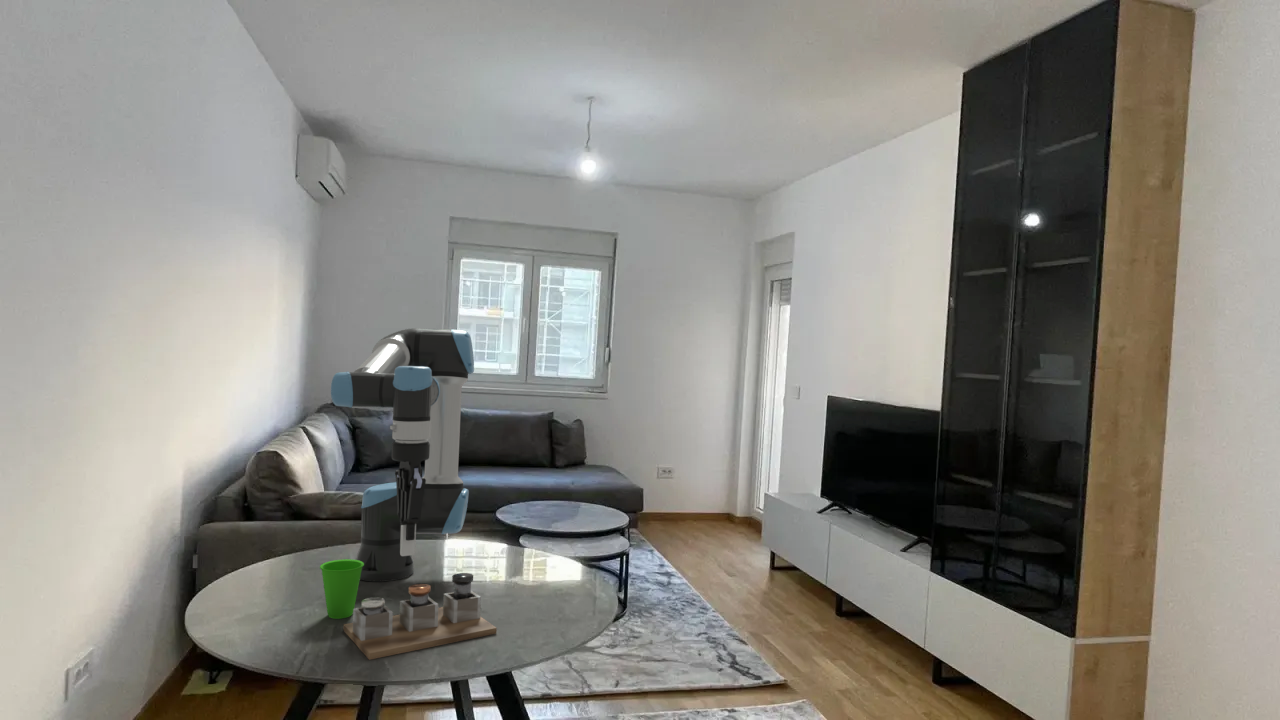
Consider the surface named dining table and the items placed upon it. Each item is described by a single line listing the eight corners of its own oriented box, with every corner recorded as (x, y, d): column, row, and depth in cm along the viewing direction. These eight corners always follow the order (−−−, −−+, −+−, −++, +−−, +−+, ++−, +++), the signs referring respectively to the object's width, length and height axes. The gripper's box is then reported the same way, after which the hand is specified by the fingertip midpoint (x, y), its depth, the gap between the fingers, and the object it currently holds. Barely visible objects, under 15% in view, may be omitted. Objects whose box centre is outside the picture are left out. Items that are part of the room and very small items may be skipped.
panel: (343, 630, 156) (344, 602, 156) (462, 608, 171) (462, 583, 171) (369, 659, 141) (370, 628, 141) (496, 633, 157) (497, 605, 157)
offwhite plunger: (358, 624, 152) (358, 599, 152) (380, 620, 155) (380, 596, 155) (364, 630, 148) (365, 605, 148) (386, 626, 151) (387, 601, 151)
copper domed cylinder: (404, 609, 158) (405, 585, 158) (425, 606, 160) (426, 582, 160) (412, 615, 154) (412, 591, 154) (433, 612, 157) (433, 588, 157)
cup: (371, 611, 168) (372, 562, 168) (342, 624, 159) (344, 572, 159) (338, 605, 171) (339, 557, 171) (308, 618, 162) (310, 567, 162)
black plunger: (448, 597, 163) (449, 574, 163) (467, 594, 166) (468, 572, 166) (456, 603, 160) (457, 580, 160) (475, 600, 162) (476, 577, 162)
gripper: (383, 437, 159) (380, 549, 159) (402, 445, 148) (398, 564, 148) (419, 436, 163) (415, 545, 163) (439, 443, 152) (436, 560, 152)
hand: (407, 554), depth 156 cm, fingers closed
